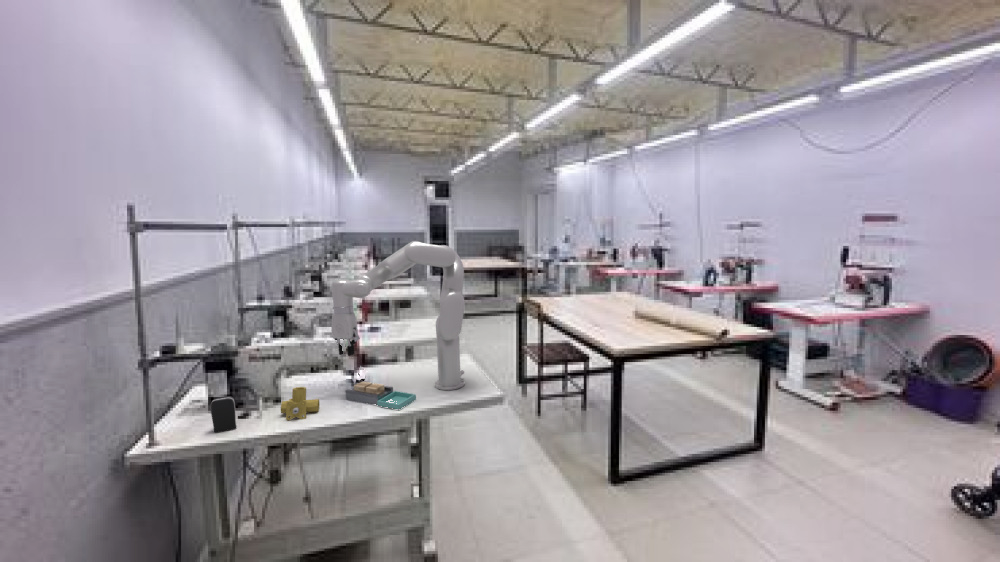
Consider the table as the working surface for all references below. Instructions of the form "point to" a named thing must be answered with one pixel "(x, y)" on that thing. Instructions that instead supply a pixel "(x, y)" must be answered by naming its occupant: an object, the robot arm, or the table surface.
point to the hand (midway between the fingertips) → (346, 354)
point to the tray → (397, 396)
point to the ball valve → (299, 404)
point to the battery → (223, 414)
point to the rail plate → (367, 395)
